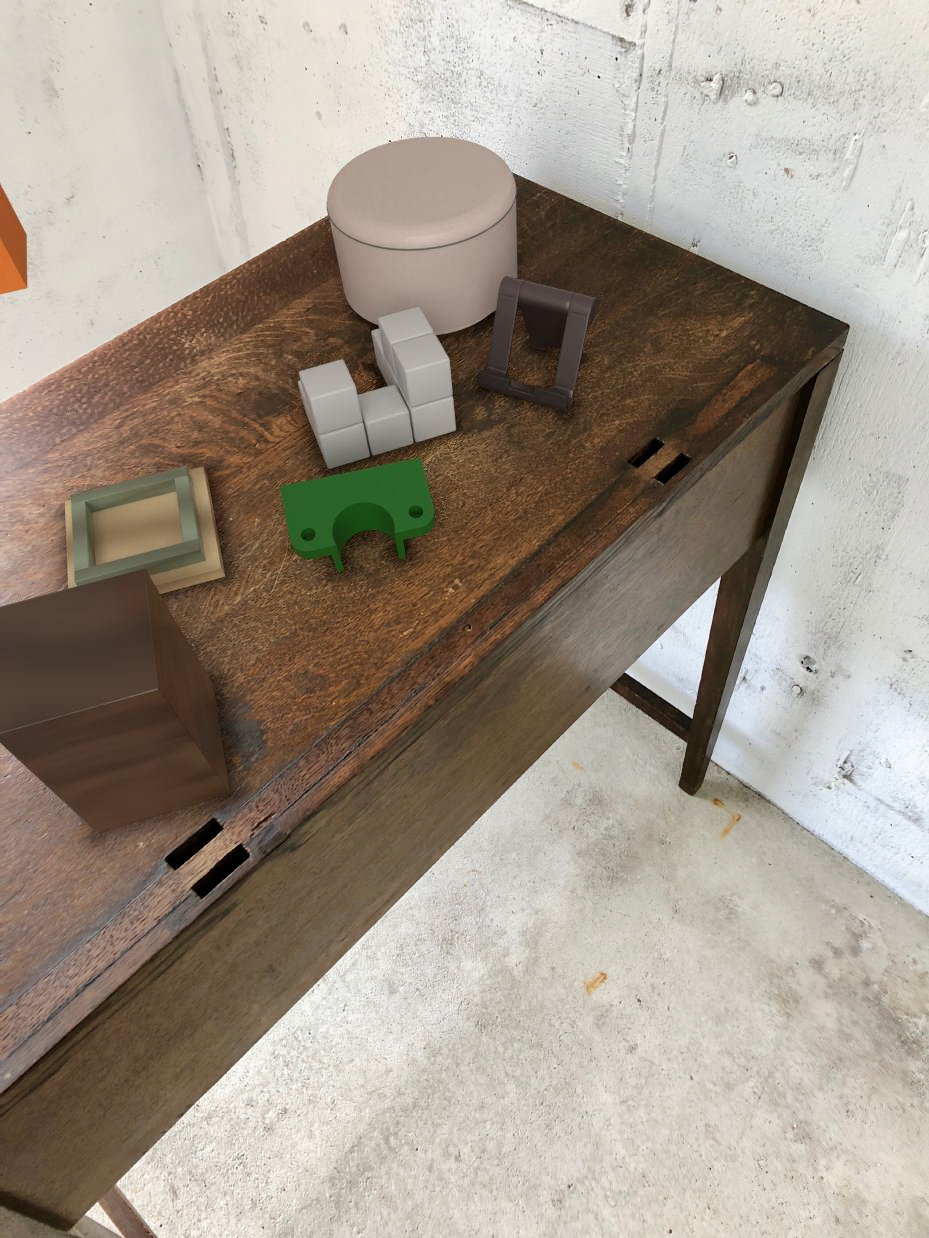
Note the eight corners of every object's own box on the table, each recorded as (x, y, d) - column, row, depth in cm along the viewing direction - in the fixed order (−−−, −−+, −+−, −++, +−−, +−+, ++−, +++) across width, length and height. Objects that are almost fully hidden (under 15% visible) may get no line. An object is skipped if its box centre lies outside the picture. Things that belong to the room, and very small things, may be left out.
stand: (230, 794, 59) (158, 688, 48) (97, 833, 58) (-9, 735, 47) (214, 685, 64) (145, 567, 53) (91, 720, 63) (-6, 607, 52)
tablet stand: (477, 391, 81) (472, 314, 74) (513, 341, 85) (511, 263, 78) (564, 417, 79) (567, 339, 72) (598, 364, 82) (604, 285, 76)
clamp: (335, 596, 74) (272, 563, 66) (323, 534, 76) (261, 495, 68) (462, 543, 70) (411, 502, 62) (445, 480, 73) (395, 432, 64)
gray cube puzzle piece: (414, 353, 85) (405, 280, 79) (456, 431, 78) (450, 358, 72) (295, 387, 83) (275, 315, 77) (328, 470, 77) (309, 399, 70)
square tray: (225, 576, 70) (215, 555, 68) (75, 617, 69) (60, 596, 67) (207, 475, 77) (197, 453, 75) (70, 510, 76) (56, 488, 74)
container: (452, 221, 98) (443, 112, 88) (554, 295, 89) (556, 182, 79) (313, 285, 93) (288, 176, 83) (407, 370, 84) (391, 258, 74)
